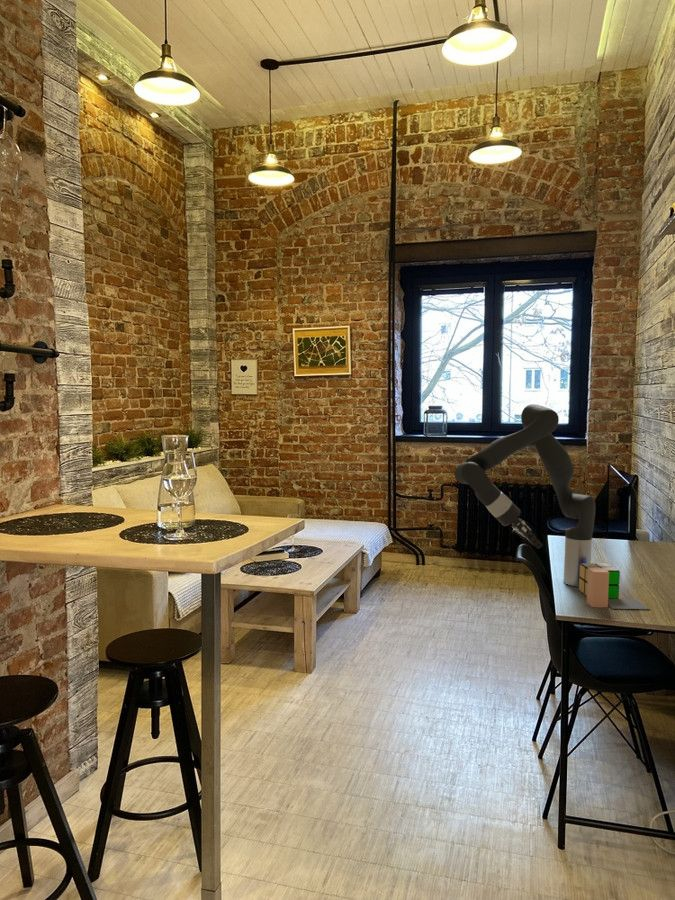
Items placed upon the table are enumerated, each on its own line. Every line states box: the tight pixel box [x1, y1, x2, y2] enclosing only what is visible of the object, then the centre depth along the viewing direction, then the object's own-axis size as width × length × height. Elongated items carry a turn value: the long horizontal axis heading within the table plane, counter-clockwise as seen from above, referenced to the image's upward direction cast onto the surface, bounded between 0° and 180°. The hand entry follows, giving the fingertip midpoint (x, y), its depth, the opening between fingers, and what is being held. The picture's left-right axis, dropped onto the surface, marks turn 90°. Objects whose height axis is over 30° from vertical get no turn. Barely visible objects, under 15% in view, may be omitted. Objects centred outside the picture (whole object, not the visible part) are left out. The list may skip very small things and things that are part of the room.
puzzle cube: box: [578, 562, 621, 599], centre depth 224 cm, size 10×10×10 cm
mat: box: [608, 598, 651, 611], centre depth 214 cm, size 10×12×1 cm
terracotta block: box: [586, 568, 609, 608], centre depth 213 cm, size 5×5×12 cm
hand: (538, 544), depth 212 cm, fingers open, 4 cm apart
